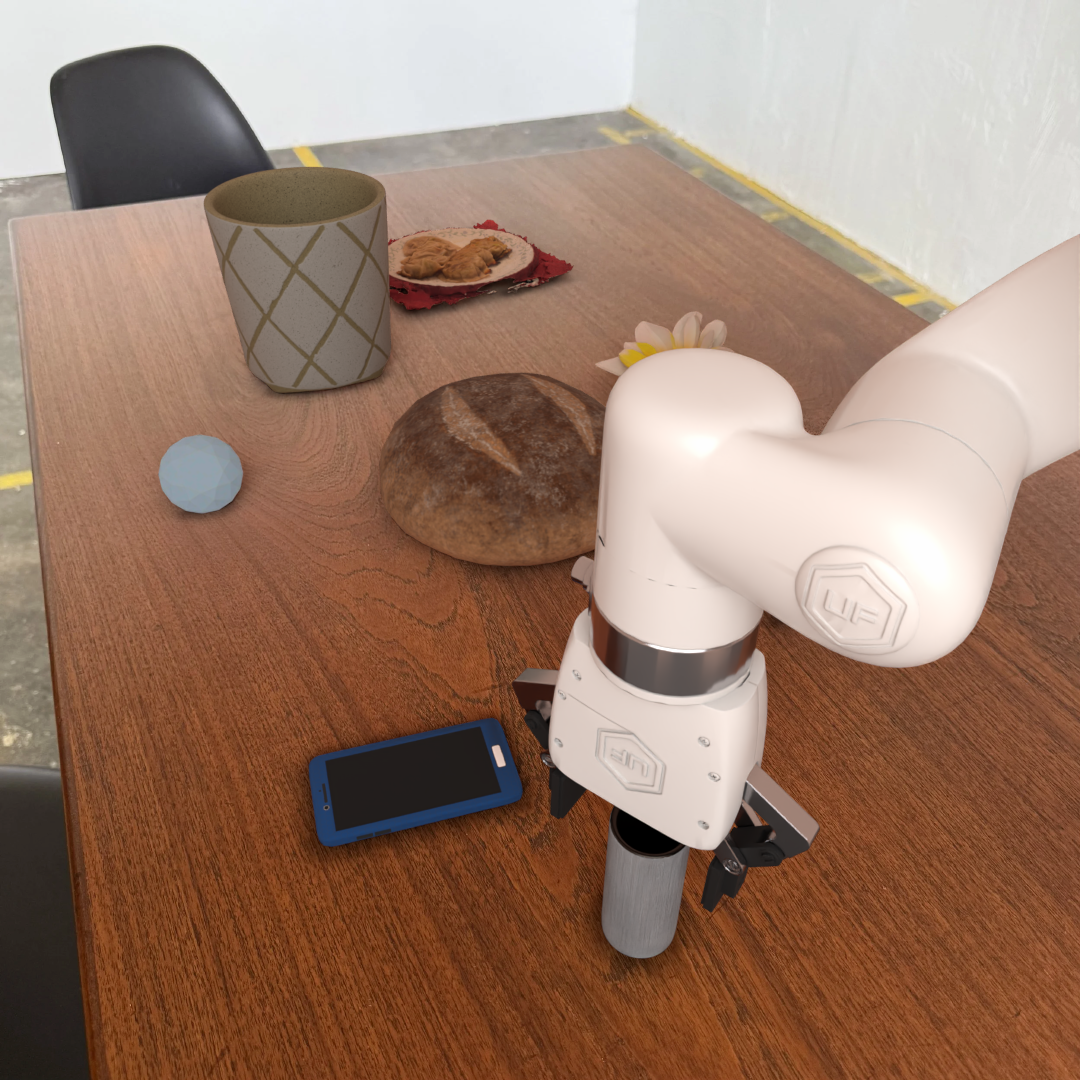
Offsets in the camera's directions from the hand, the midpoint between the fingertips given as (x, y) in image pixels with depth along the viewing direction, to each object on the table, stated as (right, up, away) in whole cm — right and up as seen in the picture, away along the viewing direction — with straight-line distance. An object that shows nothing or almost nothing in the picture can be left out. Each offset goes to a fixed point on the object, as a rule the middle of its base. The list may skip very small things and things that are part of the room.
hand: (641, 843), depth 54 cm
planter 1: (-32, +38, +61) cm, 79 cm away
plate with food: (-18, +56, +84) cm, 102 cm away
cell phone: (-14, 0, +13) cm, 19 cm away
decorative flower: (+8, +33, +56) cm, 65 cm away
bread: (-8, +21, +40) cm, 47 cm away
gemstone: (-38, +21, +40) cm, 59 cm away
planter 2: (0, -7, +5) cm, 8 cm away
